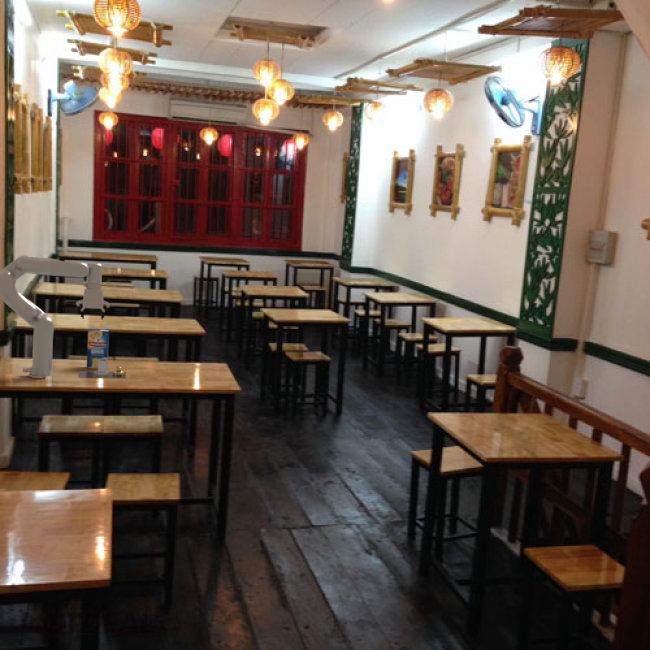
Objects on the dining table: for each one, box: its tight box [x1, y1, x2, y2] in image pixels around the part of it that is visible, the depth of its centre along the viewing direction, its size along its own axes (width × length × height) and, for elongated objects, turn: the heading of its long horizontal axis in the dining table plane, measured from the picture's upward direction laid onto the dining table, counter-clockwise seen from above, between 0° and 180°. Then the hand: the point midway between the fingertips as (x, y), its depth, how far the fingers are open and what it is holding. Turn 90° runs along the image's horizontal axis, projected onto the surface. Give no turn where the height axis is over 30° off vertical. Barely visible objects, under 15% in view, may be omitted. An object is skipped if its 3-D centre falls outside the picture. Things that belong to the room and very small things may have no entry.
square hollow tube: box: [93, 359, 111, 377], centre depth 407 cm, size 8×8×8 cm
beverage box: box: [86, 328, 110, 369], centre depth 426 cm, size 7×11×22 cm, turn 104°
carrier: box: [77, 366, 127, 380], centre depth 408 cm, size 24×16×6 cm, turn 108°
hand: (92, 318), depth 406 cm, fingers open, 9 cm apart
